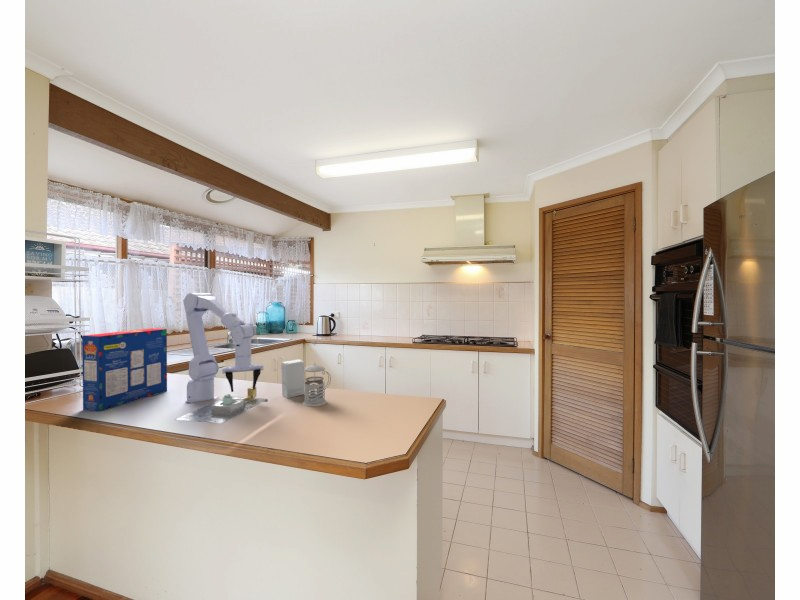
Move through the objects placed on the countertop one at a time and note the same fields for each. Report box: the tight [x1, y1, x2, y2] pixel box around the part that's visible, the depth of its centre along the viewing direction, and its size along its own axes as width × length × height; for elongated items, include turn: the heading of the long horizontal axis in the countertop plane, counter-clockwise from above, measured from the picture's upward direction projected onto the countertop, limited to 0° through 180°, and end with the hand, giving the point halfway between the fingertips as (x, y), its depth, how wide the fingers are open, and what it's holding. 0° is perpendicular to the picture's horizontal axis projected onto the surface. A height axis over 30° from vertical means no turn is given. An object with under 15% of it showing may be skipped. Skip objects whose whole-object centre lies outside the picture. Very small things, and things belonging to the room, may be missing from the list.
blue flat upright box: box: [81, 327, 168, 413], centre depth 141 cm, size 28×8×28 cm, turn 167°
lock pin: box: [243, 386, 257, 402], centre depth 135 cm, size 2×10×4 cm, turn 170°
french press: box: [301, 340, 332, 407], centre depth 139 cm, size 10×12×25 cm
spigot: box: [222, 393, 233, 405], centre depth 125 cm, size 3×3×6 cm
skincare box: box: [281, 358, 305, 399], centre depth 148 cm, size 8×6×15 cm
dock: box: [174, 396, 268, 424], centre depth 128 cm, size 18×27×4 cm, turn 170°
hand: (243, 390), depth 134 cm, fingers open, 7 cm apart
